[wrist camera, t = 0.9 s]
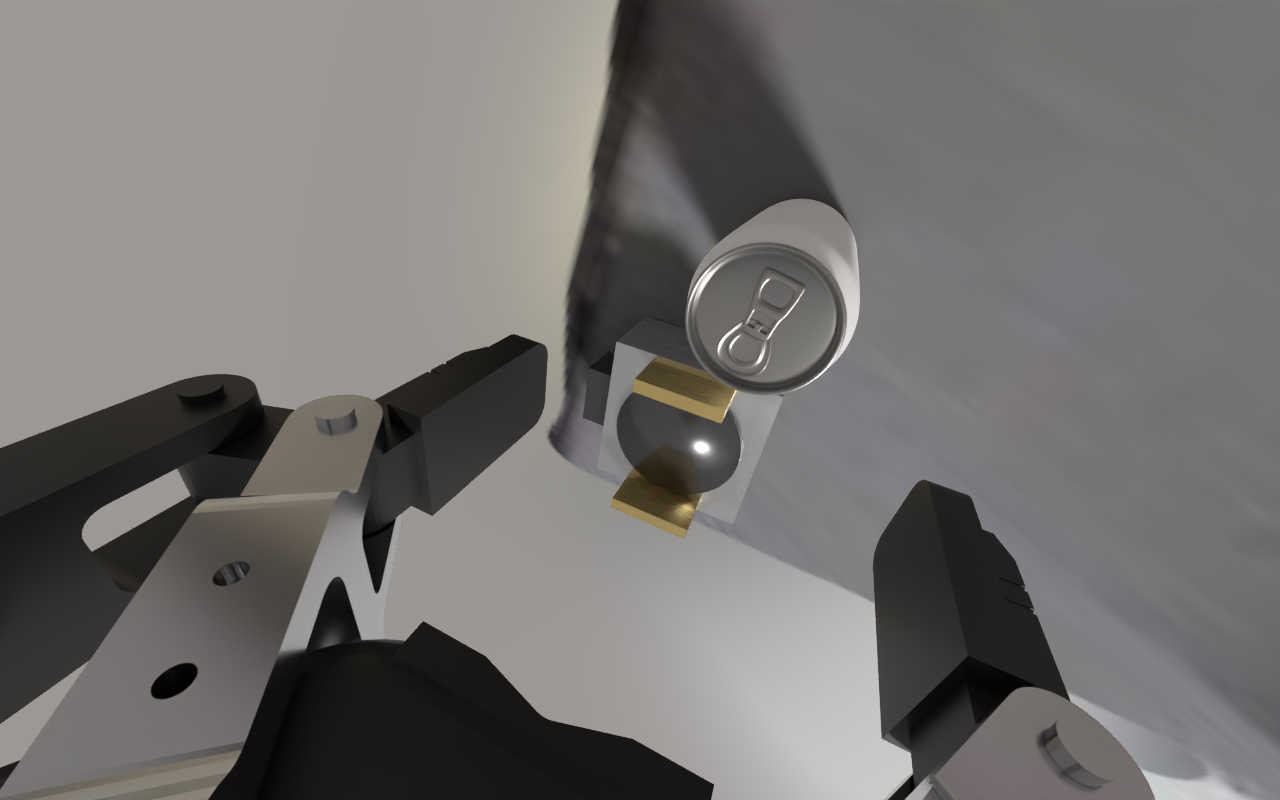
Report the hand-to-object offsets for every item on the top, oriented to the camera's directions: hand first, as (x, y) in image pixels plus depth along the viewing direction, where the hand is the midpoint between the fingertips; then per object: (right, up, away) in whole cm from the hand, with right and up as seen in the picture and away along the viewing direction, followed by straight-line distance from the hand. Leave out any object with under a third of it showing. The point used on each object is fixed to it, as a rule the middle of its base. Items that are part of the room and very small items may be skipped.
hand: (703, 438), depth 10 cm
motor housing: (+2, +1, +23) cm, 23 cm away
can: (+7, +9, +16) cm, 20 cm away
